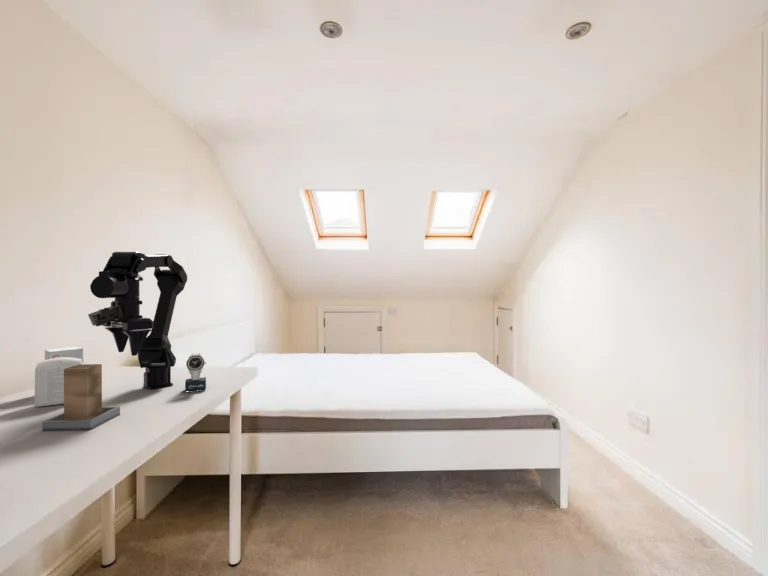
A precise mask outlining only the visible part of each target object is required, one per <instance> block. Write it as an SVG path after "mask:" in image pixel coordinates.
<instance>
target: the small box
mask: <svg viewBox="0 0 768 576" xmlns="http://www.w3.org/2000/svg"><path fill="white" fill-rule="evenodd" d="M61 357H71V358H78V359H82V363H83V364H84V348H83V347H80V346H68V347H59V348H49V349H44V360H48V359H52V358H61Z"/></svg>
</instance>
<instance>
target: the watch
mask: <svg viewBox="0 0 768 576" xmlns="http://www.w3.org/2000/svg"><path fill="white" fill-rule="evenodd" d="M185 365H186V368H187V370H188V373H189V375H190V378H186V379H185V382H184V383H185V385H184V390H185V392H186V391H197V390H205V389H206V390H207V377H206V376H204V377H200V376H201V374H202V371H203V369H204V365H207V362H206V361H205V358H203V356H202V354H201V353H191V355H189V356H188V359H187V360H186V363H185ZM185 392H184V393H185ZM197 392H198V391H197Z"/></svg>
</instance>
